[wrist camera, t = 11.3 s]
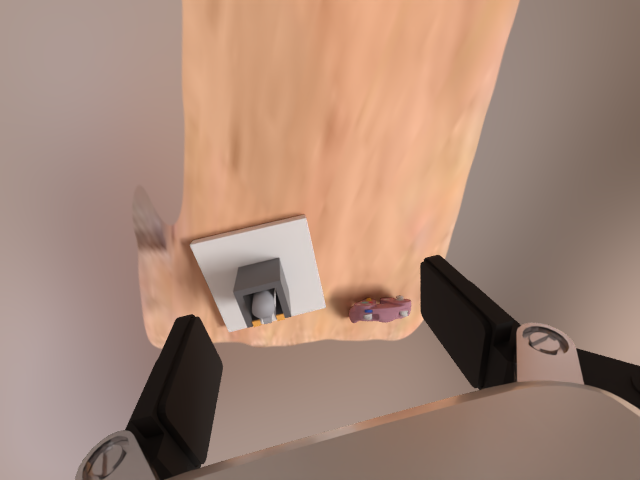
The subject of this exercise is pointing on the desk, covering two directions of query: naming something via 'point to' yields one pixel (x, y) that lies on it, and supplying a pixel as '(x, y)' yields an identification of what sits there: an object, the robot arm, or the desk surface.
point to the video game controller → (380, 309)
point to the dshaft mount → (257, 246)
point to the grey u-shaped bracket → (261, 289)
